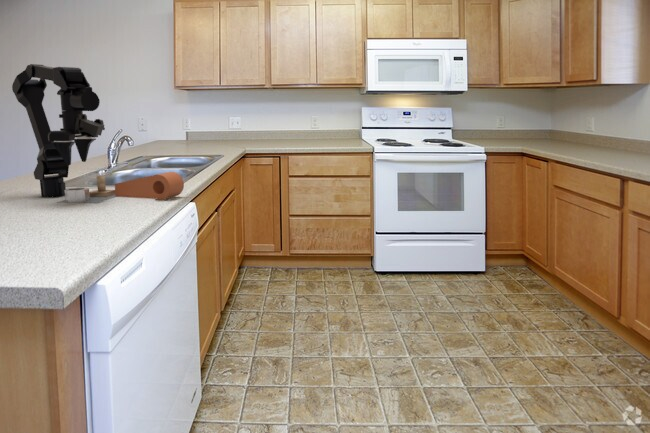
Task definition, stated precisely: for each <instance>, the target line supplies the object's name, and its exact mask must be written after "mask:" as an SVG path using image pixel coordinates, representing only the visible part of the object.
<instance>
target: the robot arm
mask: <svg viewBox="0 0 650 433" xmlns="http://www.w3.org/2000/svg"><path fill="white" fill-rule="evenodd" d="M32 78H37V79H32ZM46 80H47V81H51V82H53V84H54V85H55V86H57V87H59V88H60V89H59V90H58V91H57V92H56V94H57V96H59V97H60V106H61V113H60V114H58V118H60V119H62V128H59V129H60V130H51V126H50V123H49V120H48V118H47V115H46V111H45V109H44V106H43V101H44V98H45V90H46V88H47V86H48V85H47V81H46ZM11 89H12V93H13V94H14V96H15V98H16V100H17V101H18V103H20V105H22V106H23V107H24V108H25V110H26V112H27V116H28V120H29V122H30V125H31V128H32V131H33V134H34V137H35V140H36V143H37V147H38V150H39V151H38V154H37V157H36V161H37V164H36V166H35V169H34V171H33V176H34V180H39V185H40V193H41V194H40V195H41V196H39V198H56V199H57V198H60V197H65V189H67V188H66V182H65V180H64V178H68V176H69V168H70V166H71V164H72V147H73V146H74V145H75V146H76V149H77V153H78V156H79V157H80V160H81V162H83V163H86V161H87V159H88V155H89V150H90V147H91V144H92V143H93V142H94V141H96V140H97V138H99V136H100V137H101V136H102V133H103V131H105V124H104V120H103V119H100V118H97V119H96V118H95V119H94V120H90V119H88V116H87V114H86V113H83V112H93V111H96V110H97V109H98V108H99V106H100V102H101V101H100V98H99V95H98V94H97V93H96V92H94V91H93V87H92V86H91V85H90V83H89V82H88V80H87V77H86V76H85V73H84V72H83V71H82V69H81V68H80V67H71V66H56V67H52V66H47V65H44V64H37V63H36V64H34V63H30V64H27V65H26V68H25V70H23V71H21V72H20V73H18V74H17V75H16V77H15V79H14V80H13V83H12V85H11Z"/></svg>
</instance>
